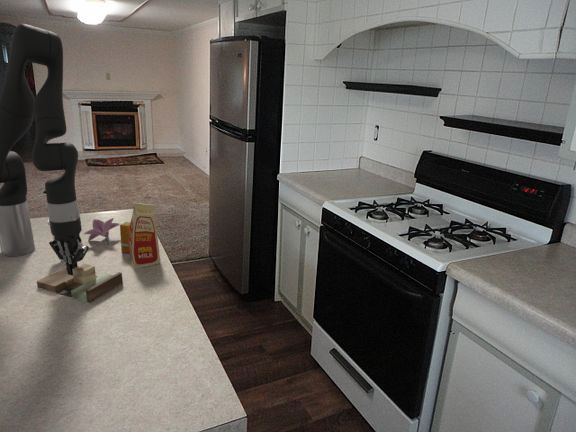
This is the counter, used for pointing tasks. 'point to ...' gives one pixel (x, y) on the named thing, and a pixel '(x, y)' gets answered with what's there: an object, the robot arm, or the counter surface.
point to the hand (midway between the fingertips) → (73, 274)
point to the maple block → (84, 274)
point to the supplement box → (125, 237)
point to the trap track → (80, 285)
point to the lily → (101, 228)
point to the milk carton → (143, 236)
